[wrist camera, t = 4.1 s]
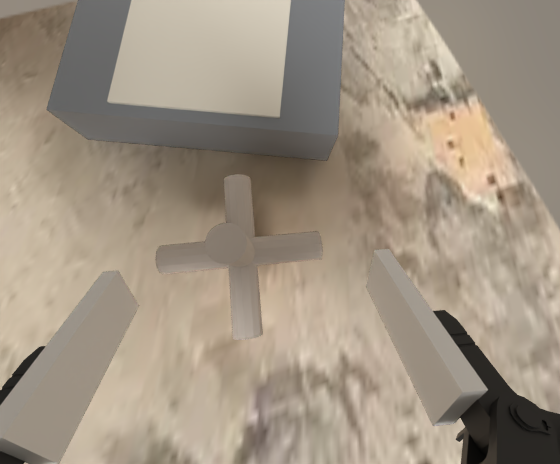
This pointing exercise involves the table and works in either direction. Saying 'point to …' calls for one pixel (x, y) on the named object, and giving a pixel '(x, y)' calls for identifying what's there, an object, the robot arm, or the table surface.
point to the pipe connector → (239, 255)
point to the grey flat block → (205, 74)
